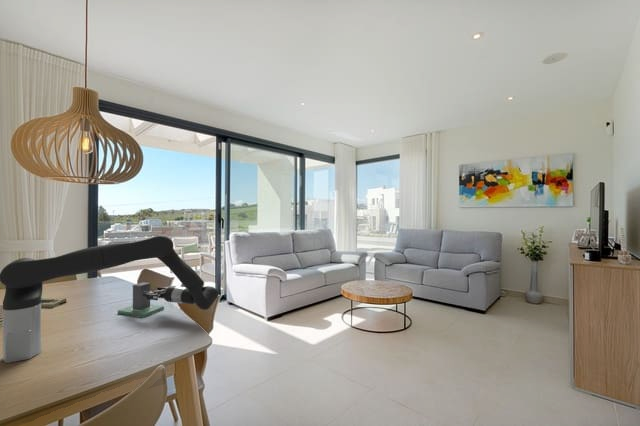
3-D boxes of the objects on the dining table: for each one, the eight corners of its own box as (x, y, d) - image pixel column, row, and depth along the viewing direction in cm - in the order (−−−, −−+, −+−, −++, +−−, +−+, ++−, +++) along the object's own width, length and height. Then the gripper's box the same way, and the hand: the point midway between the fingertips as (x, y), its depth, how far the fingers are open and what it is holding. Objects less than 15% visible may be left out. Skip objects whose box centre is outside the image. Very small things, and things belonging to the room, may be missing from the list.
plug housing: (150, 306, 147) (150, 283, 146) (140, 310, 141) (140, 285, 141) (142, 305, 148) (142, 282, 148) (132, 309, 143) (132, 284, 142)
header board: (164, 309, 148) (164, 298, 148) (143, 317, 137) (143, 305, 136) (139, 305, 153) (139, 295, 152) (117, 313, 141) (117, 302, 141)
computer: (21, 308, 148) (21, 301, 147) (37, 303, 156) (37, 297, 156) (53, 308, 148) (53, 302, 148) (66, 303, 156) (66, 297, 156)
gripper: (188, 283, 145) (162, 280, 150) (166, 290, 132) (137, 287, 136) (188, 298, 145) (162, 295, 150) (166, 307, 132) (137, 303, 136)
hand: (150, 291), depth 143 cm, fingers open, 8 cm apart
